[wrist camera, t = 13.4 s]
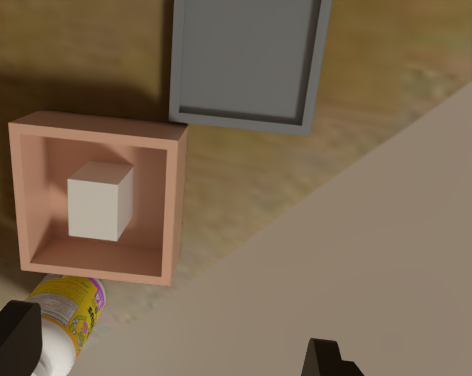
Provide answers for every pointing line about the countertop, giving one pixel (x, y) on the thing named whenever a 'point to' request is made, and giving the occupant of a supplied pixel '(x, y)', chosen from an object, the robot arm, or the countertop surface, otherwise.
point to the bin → (56, 194)
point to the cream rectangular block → (100, 200)
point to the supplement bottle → (65, 319)
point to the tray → (247, 63)
